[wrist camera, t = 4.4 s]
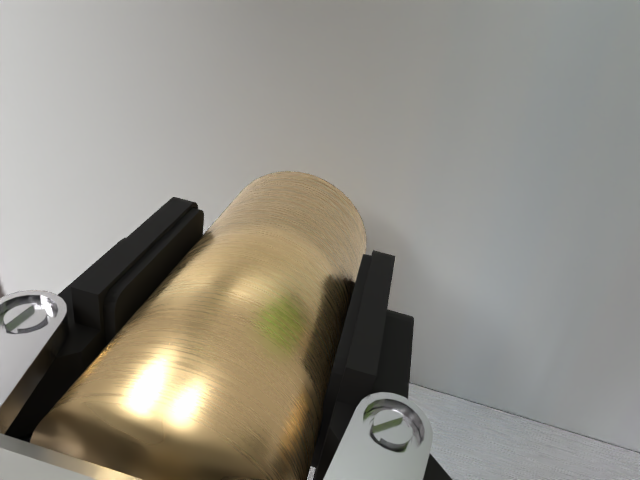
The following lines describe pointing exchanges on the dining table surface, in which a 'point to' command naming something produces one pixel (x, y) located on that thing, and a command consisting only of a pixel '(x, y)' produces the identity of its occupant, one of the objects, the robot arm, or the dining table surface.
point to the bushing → (226, 347)
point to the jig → (514, 445)
